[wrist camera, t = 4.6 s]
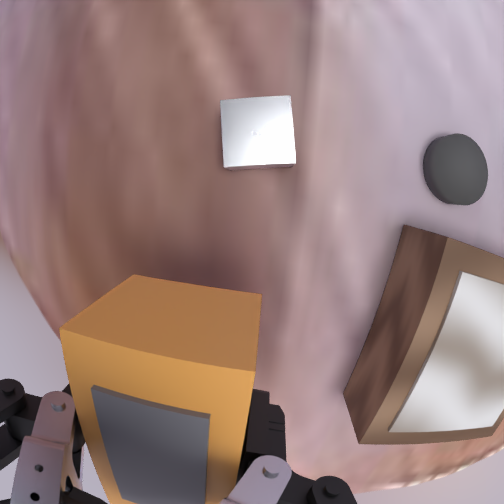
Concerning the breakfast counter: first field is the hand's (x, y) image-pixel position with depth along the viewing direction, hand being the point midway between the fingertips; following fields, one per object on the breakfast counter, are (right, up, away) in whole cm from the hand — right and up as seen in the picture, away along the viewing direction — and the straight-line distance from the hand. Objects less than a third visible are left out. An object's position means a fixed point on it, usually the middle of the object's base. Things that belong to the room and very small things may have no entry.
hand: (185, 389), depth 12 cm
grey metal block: (+3, +13, +8) cm, 15 cm away
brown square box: (+18, -1, +9) cm, 21 cm away
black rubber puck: (+17, +12, +7) cm, 22 cm away
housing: (0, 0, +1) cm, 1 cm away
